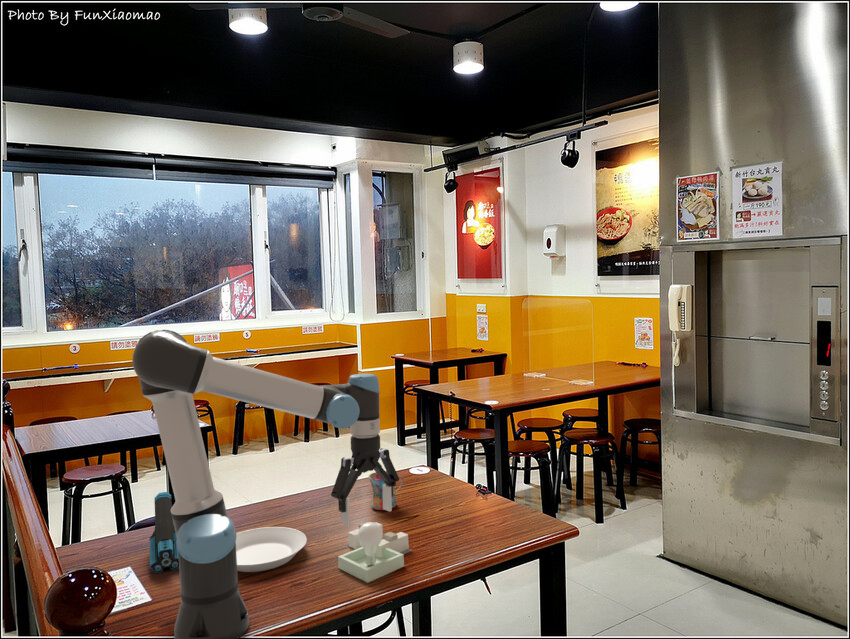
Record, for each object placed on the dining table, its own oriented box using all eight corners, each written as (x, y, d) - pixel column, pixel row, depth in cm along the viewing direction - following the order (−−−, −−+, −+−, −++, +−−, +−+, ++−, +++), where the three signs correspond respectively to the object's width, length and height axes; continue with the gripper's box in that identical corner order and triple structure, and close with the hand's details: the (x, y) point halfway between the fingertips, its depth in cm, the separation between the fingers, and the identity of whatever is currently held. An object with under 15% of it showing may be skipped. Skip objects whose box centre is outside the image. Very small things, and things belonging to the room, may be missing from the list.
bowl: (209, 585, 156) (208, 571, 156) (215, 546, 180) (214, 534, 180) (311, 569, 163) (310, 556, 163) (303, 534, 187) (302, 522, 187)
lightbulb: (379, 571, 159) (378, 528, 158) (355, 569, 160) (354, 526, 159) (385, 560, 165) (385, 519, 164) (362, 559, 166) (361, 517, 166)
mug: (376, 514, 200) (375, 481, 199) (365, 505, 208) (364, 474, 208) (410, 507, 206) (409, 474, 205) (398, 498, 214) (397, 468, 213)
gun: (152, 596, 165) (148, 547, 160) (151, 535, 188) (147, 491, 183) (184, 589, 168) (181, 541, 164) (179, 530, 191) (176, 487, 186)
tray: (367, 582, 154) (366, 570, 154) (338, 568, 163) (337, 556, 162) (404, 566, 162) (403, 554, 162) (374, 553, 171) (374, 542, 171)
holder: (384, 565, 165) (383, 543, 165) (345, 547, 177) (344, 526, 177) (412, 553, 172) (411, 531, 171) (373, 536, 184) (372, 516, 184)
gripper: (333, 446, 149) (335, 534, 150) (411, 428, 166) (412, 508, 167) (315, 441, 155) (317, 526, 156) (392, 424, 172) (394, 501, 173)
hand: (367, 516), depth 162 cm, fingers open, 13 cm apart
